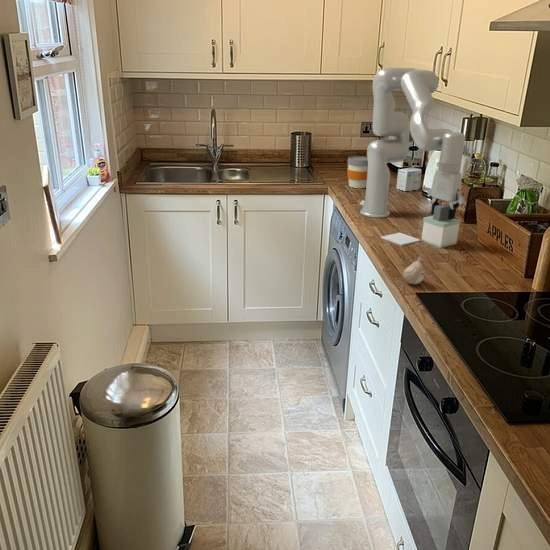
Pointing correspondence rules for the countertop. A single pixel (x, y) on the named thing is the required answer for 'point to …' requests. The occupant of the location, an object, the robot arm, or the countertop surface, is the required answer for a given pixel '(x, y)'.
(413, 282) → the garlic bulb
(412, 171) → the light bulb box
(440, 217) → the lid
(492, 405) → the countertop surface
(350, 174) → the reusable coffee cup
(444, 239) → the tub
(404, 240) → the mat
